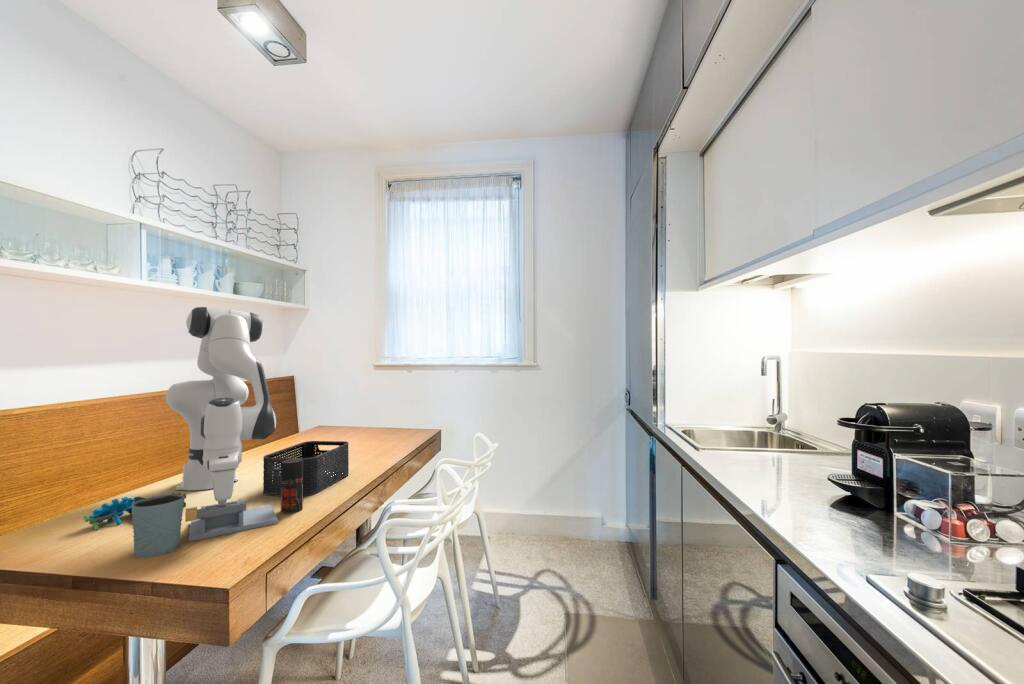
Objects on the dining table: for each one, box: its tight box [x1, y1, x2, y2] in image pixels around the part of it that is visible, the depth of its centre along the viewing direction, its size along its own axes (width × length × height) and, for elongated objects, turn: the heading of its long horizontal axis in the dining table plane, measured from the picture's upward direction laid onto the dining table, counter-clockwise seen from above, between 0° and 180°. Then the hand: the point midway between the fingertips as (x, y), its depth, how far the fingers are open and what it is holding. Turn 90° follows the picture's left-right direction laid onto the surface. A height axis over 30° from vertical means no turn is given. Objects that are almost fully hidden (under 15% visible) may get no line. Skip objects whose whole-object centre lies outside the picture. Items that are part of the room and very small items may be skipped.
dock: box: [188, 499, 278, 542], centre depth 122 cm, size 15×20×5 cm
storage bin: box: [262, 440, 350, 497], centre depth 161 cm, size 29×19×13 cm
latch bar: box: [184, 501, 247, 523], centre depth 116 cm, size 3×13×3 cm, turn 125°
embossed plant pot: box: [131, 493, 186, 559], centre depth 106 cm, size 10×10×12 cm
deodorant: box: [280, 459, 304, 515], centre depth 133 cm, size 6×6×15 cm
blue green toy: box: [83, 496, 135, 531], centre depth 123 cm, size 11×6×10 cm
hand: (222, 508), depth 118 cm, fingers closed
